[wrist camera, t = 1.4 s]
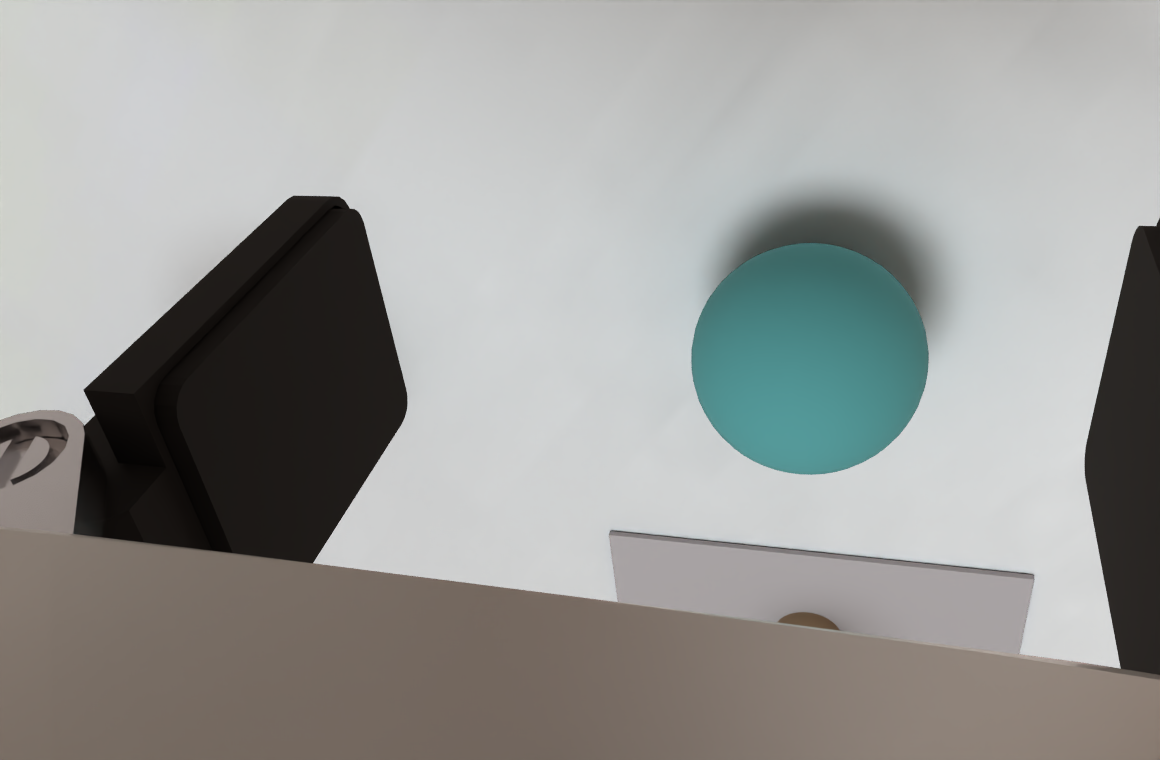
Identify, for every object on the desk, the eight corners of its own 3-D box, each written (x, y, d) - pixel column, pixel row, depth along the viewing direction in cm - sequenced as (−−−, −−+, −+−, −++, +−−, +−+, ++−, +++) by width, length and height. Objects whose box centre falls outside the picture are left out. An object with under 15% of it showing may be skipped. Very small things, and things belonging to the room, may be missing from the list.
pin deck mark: (610, 531, 37) (608, 534, 37) (1033, 575, 33) (1033, 579, 33) (637, 736, 44) (636, 740, 44) (989, 792, 40) (990, 797, 40)
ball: (706, 200, 28) (664, 318, 24) (936, 204, 27) (940, 330, 22) (714, 378, 32) (678, 511, 27) (919, 390, 30) (918, 534, 25)
